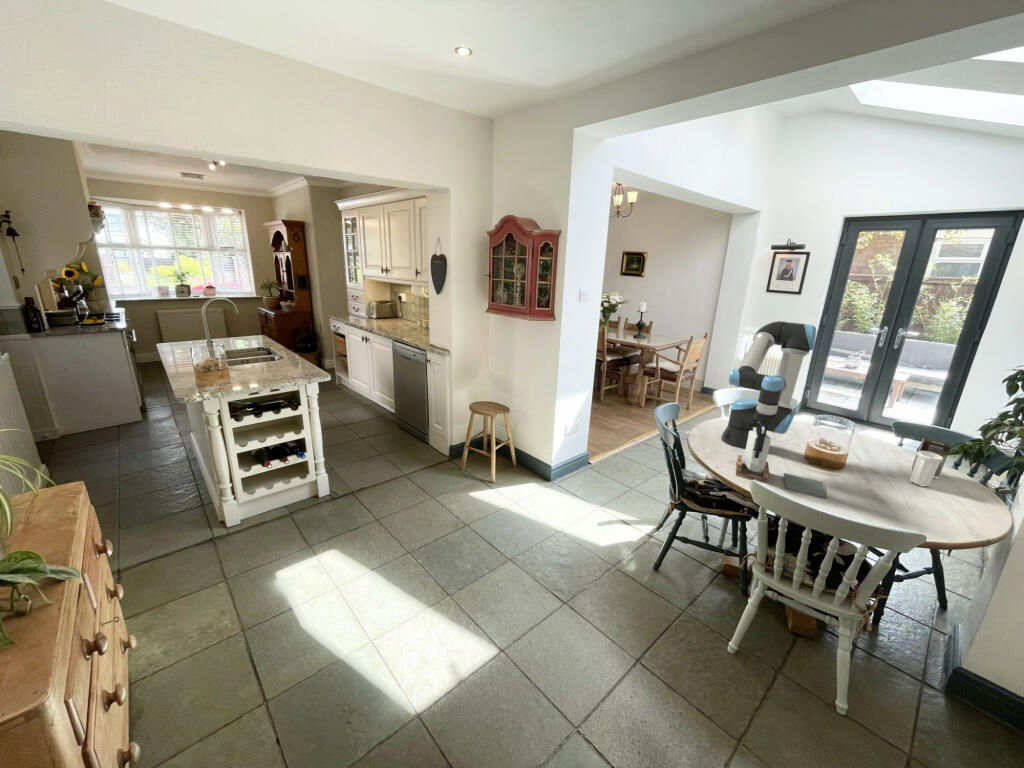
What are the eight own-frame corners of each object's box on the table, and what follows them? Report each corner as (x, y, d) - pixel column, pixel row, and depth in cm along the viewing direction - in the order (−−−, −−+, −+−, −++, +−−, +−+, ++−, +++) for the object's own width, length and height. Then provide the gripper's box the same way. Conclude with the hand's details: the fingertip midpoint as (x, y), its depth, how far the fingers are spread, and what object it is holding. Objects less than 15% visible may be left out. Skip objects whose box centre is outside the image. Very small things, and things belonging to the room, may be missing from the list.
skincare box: (764, 472, 180) (772, 439, 175) (747, 469, 181) (755, 437, 176) (757, 463, 188) (765, 431, 183) (741, 461, 189) (748, 429, 184)
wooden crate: (735, 464, 193) (738, 454, 191) (765, 471, 187) (768, 461, 186) (735, 475, 183) (737, 465, 181) (766, 483, 177) (769, 472, 176)
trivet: (783, 474, 185) (783, 472, 185) (821, 483, 179) (821, 481, 179) (785, 488, 173) (786, 486, 173) (826, 499, 167) (827, 496, 167)
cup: (925, 481, 185) (936, 452, 181) (936, 490, 178) (947, 460, 174) (902, 477, 188) (913, 449, 183) (912, 486, 180) (924, 456, 176)
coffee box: (911, 471, 193) (923, 440, 189) (911, 467, 198) (922, 436, 193) (938, 479, 188) (951, 447, 183) (937, 474, 192) (950, 443, 187)
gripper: (755, 402, 187) (744, 447, 194) (756, 418, 169) (744, 467, 176) (774, 406, 184) (763, 451, 191) (777, 422, 165) (764, 472, 172)
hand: (754, 459), depth 183 cm, fingers closed on skincare box, 9 cm apart
